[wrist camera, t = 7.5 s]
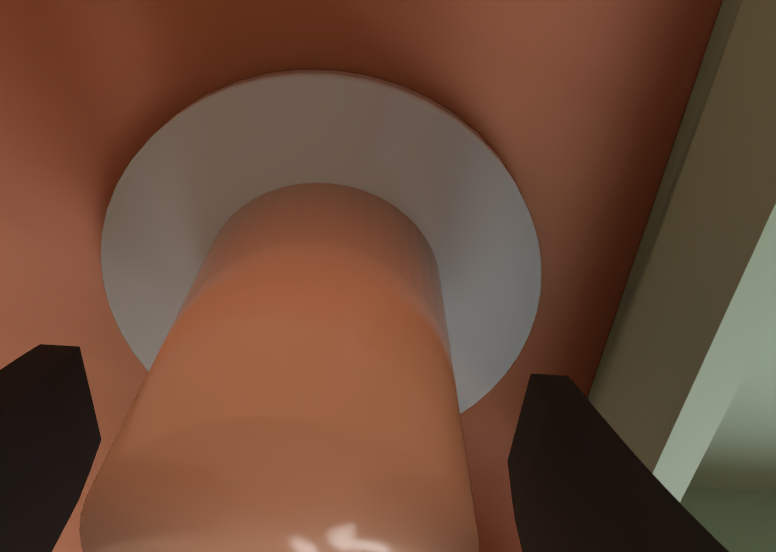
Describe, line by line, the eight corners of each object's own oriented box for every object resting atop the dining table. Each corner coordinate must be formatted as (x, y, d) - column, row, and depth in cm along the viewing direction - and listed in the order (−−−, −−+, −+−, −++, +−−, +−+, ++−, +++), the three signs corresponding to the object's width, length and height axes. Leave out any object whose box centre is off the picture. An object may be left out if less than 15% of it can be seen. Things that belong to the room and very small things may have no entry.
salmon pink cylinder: (422, 387, 14) (444, 668, 9) (210, 369, 14) (107, 650, 9) (458, 196, 11) (519, 436, 6) (200, 170, 11) (45, 398, 6)
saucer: (495, 440, 16) (499, 458, 15) (142, 421, 15) (134, 439, 15) (581, 89, 11) (591, 99, 10) (73, 48, 11) (58, 56, 10)
